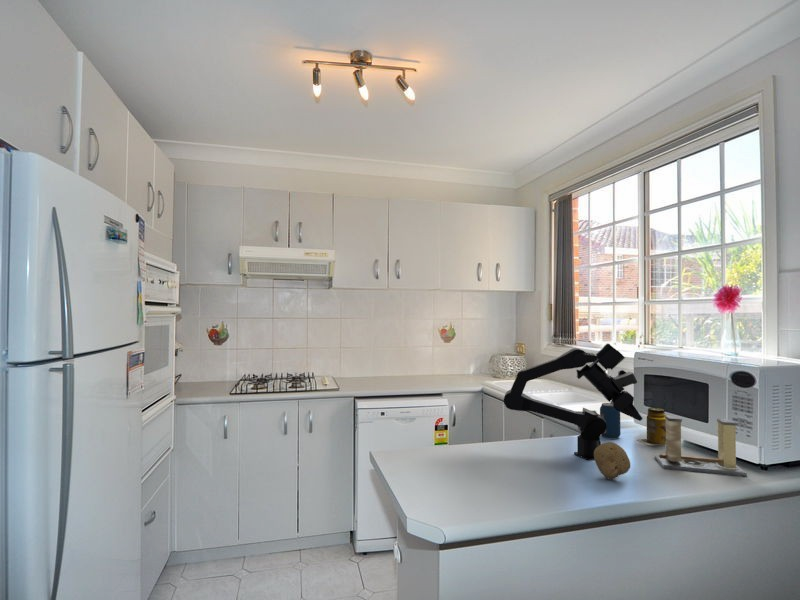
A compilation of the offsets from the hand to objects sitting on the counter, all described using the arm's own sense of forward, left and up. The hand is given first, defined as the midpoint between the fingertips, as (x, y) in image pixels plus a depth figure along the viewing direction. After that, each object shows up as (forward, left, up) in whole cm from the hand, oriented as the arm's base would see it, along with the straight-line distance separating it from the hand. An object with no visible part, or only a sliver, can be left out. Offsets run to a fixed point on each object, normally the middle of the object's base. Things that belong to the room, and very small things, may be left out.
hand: (638, 417), depth 138 cm
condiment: (+22, +14, -14) cm, 30 cm away
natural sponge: (-20, -10, -14) cm, 26 cm away
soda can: (+12, +25, -14) cm, 31 cm away
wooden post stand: (+13, -9, -14) cm, 21 cm away
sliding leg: (+8, -5, -12) cm, 15 cm away
